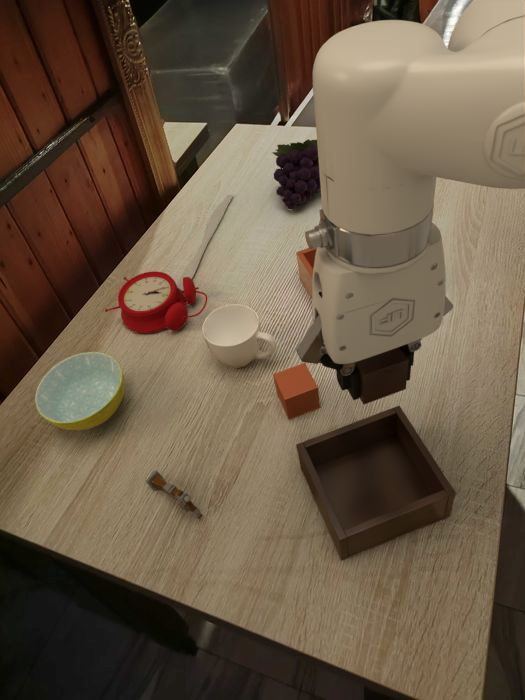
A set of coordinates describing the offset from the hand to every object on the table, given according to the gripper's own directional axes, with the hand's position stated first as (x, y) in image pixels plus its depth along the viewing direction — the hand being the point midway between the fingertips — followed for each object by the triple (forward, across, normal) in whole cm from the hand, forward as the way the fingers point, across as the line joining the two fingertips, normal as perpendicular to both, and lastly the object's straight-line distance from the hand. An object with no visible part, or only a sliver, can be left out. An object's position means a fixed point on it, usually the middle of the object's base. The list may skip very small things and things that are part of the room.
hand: (374, 378), depth 52 cm
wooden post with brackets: (+15, -23, +4) cm, 28 cm away
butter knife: (+15, -8, +50) cm, 53 cm away
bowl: (+15, -31, +21) cm, 41 cm away
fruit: (+15, +12, +55) cm, 59 cm away
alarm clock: (+15, -19, +36) cm, 43 cm away
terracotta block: (+15, -5, +11) cm, 20 cm away
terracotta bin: (+15, +10, +27) cm, 33 cm away
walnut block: (0, 0, 0) cm, 0 cm away
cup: (+15, -9, +21) cm, 28 cm away
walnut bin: (+15, -2, -4) cm, 16 cm away
